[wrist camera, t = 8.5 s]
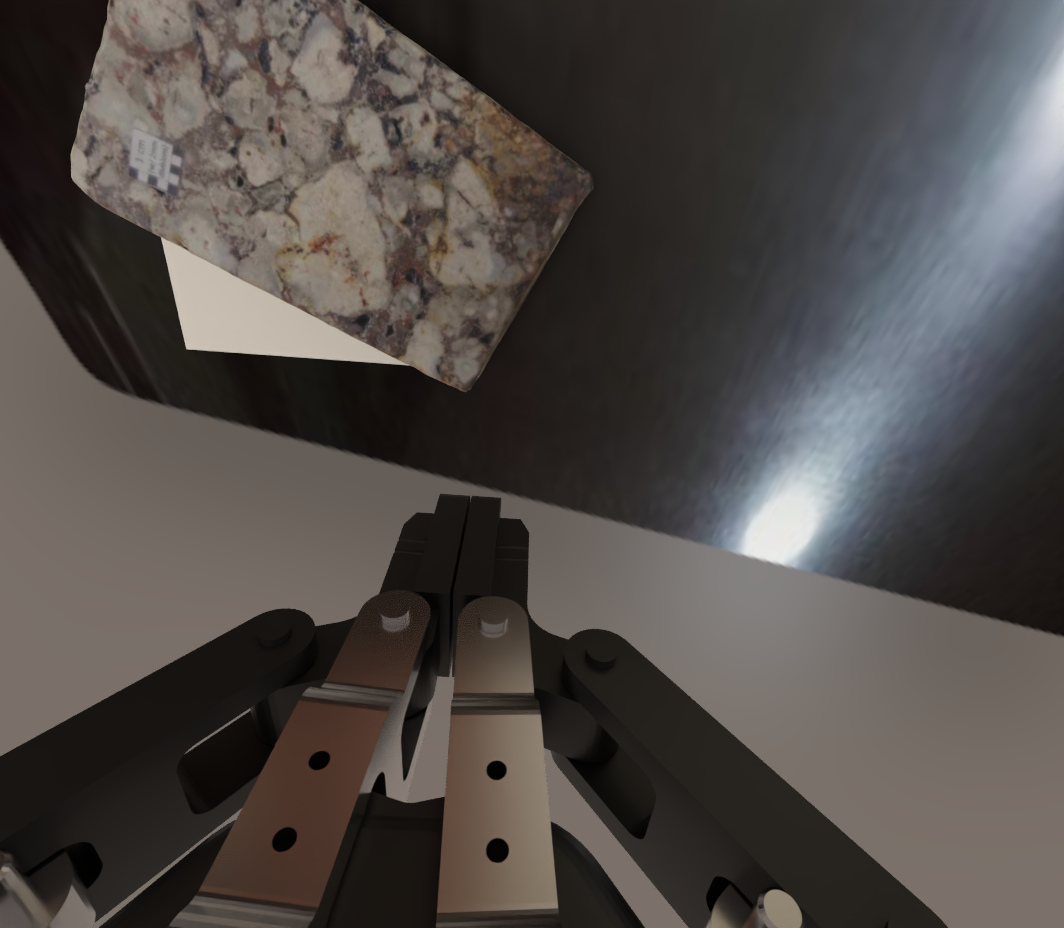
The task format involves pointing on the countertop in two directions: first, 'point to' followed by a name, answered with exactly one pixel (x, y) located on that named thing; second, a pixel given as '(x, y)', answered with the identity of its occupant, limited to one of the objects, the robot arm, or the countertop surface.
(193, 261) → the mat
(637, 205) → the countertop surface
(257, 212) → the stone block
